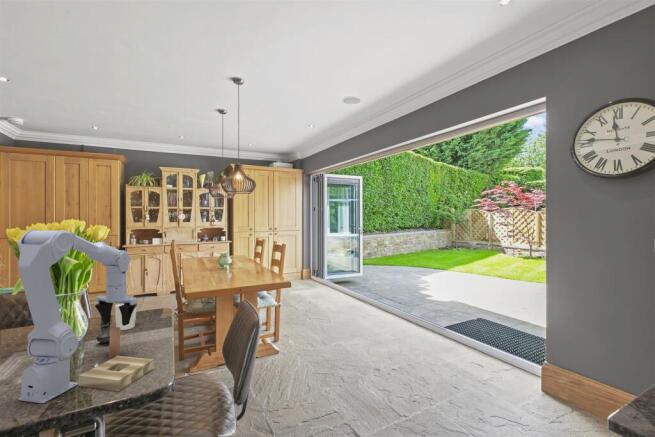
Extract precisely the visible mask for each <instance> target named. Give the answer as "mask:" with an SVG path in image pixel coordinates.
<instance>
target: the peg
mask: <svg viewBox="0 0 655 437" xmlns="http://www.w3.org/2000/svg"><path fill="white" fill-rule="evenodd" d="M108 347H109V349H108V350H109V352H108V353H109V356H108V357H109V358H110V359H112V358H114V357H116V356H121V330H120V327H116V326H114V327H110V345H109V346H108Z"/></svg>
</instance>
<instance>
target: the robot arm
mask: <svg viewBox="0 0 655 437" xmlns="http://www.w3.org/2000/svg"><path fill="white" fill-rule="evenodd" d="M16 244H17V247H18V251H19V258H18V264H17V265H18V266H17V269H18V272H19V273H18V274H19V276H20V281H21V283H22V287H23V291H24V294H25V298H26V301H27V305H28V308H29V312H30V316H31V318H32V323H33V326H34V328H33V330H31V331H30V332H29V333H28V334H27V335H26V336H27V342H28V343H27V347H26V349H27V350H26V352H27V354H28V356H31V357H32V362H33V361H34V363H32V365H31V366H29V367H28V368H25V369H24V371H22V374H21V378H20V380H21V381H20V397H18V401H23V402H30V403H37V404H45V403H47V402H49V401H50V400H52V399H54V398H56V397H58V396H60V395H62V394H63V393H65V392H68V391H69V390H71V389H73V388H75V387H76V386H79V382H74V381H71V357H72V356H73V355H74V353H75V352H76V350H77V348H78V346H79V338H78V335H77V334H75V333H74V331H73V328H72V327H71V326H70V325H69V324H67V323H66V322H64V321H63V318H62V315H61V310H60V307H59V303H58V298H57V295H56V291H55V287H54V283H53V280H52V275H51V271H50V268H51V267H52V265H56V263H58V261H60V260H61V259H62V258H63V257H64V256H66V255H67V254H68V253H69V252H70V251H71V250H73V251H78V252H80V253H84V254H86V256H87V258H88V259H90V260H92V261H95V262H99V263H101V265H102V266H104V267H105V281H106V282H105V285H106V286H105V295H98V296H95V303H97V304H94V307H95V309H96V310H97V311H98V313H99V315H100V319H101V318H102V321H103V324H107V323H109V322H110V323H111V319H112V308H113V305H114V304H124V305H122V306H119V309H120V312H121V315H122V325H123V326H125V325H128V324H129V322H130V318H131V315H132V313H133V311H134V309H135V307H136V306H137V305H138V298H137V297H132V296H129V295H128V294H127V271H128V270H129V264H130V263H131V260H132V258H131V256H130V253H129V252H128V251H127V250H123V249H121V250H119V249H117V247H116V246H110V245H108V244H107V242H106V241H98V242H94V243H93V242H91V241H88V240H87V239H85V238H83V237H80V236H78V235H76V233H75V232H71V231H68V230H65V229H60V230H48V229H47V230H45V229H44V230H43V229H42V230H41V229H40V230H39V229H30V230H28V231H26V232H25V233H24V234H22V236H21V237H20V238H19V240H18V241H17V242H16ZM136 308H137V307H136Z"/></svg>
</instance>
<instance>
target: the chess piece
mask: <svg viewBox="0 0 655 437" xmlns="http://www.w3.org/2000/svg"><path fill="white" fill-rule="evenodd" d="M111 325H112V323H111V321H110V322H109V323H107V324H103V321H102V318H101V317H100V324H99V327H100V330H99V333H98V334H96V335H95V338H96V341H97V342H98V343H97V344H96V347H97V346H99V347H98V348H104V347H103V346H105V347H109V346H108V345H110V329H111ZM101 346H102V347H101Z"/></svg>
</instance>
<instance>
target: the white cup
mask: <svg viewBox="0 0 655 437" xmlns="http://www.w3.org/2000/svg"><path fill="white" fill-rule="evenodd" d="M122 305H124V304H121V303H116V304H115V307H114V311H115V316H114V318H115V324H116V325H115V327H120V331H126V330H130V329H133V328H135V325H136V318H137V306H136V307H135V309H134V311H133V313H132V315H131V318H130V322H129V324H128V325H125V326H123V325H122V315H121V312H120V309H119V306H122Z"/></svg>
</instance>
